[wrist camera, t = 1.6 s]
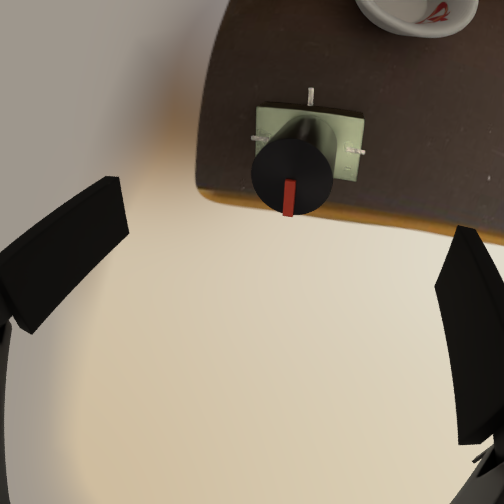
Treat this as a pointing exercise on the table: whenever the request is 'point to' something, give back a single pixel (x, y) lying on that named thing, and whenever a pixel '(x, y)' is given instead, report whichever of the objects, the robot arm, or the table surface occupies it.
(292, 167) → the dial
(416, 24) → the cup
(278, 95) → the table surface
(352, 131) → the program panel
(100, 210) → the robot arm
